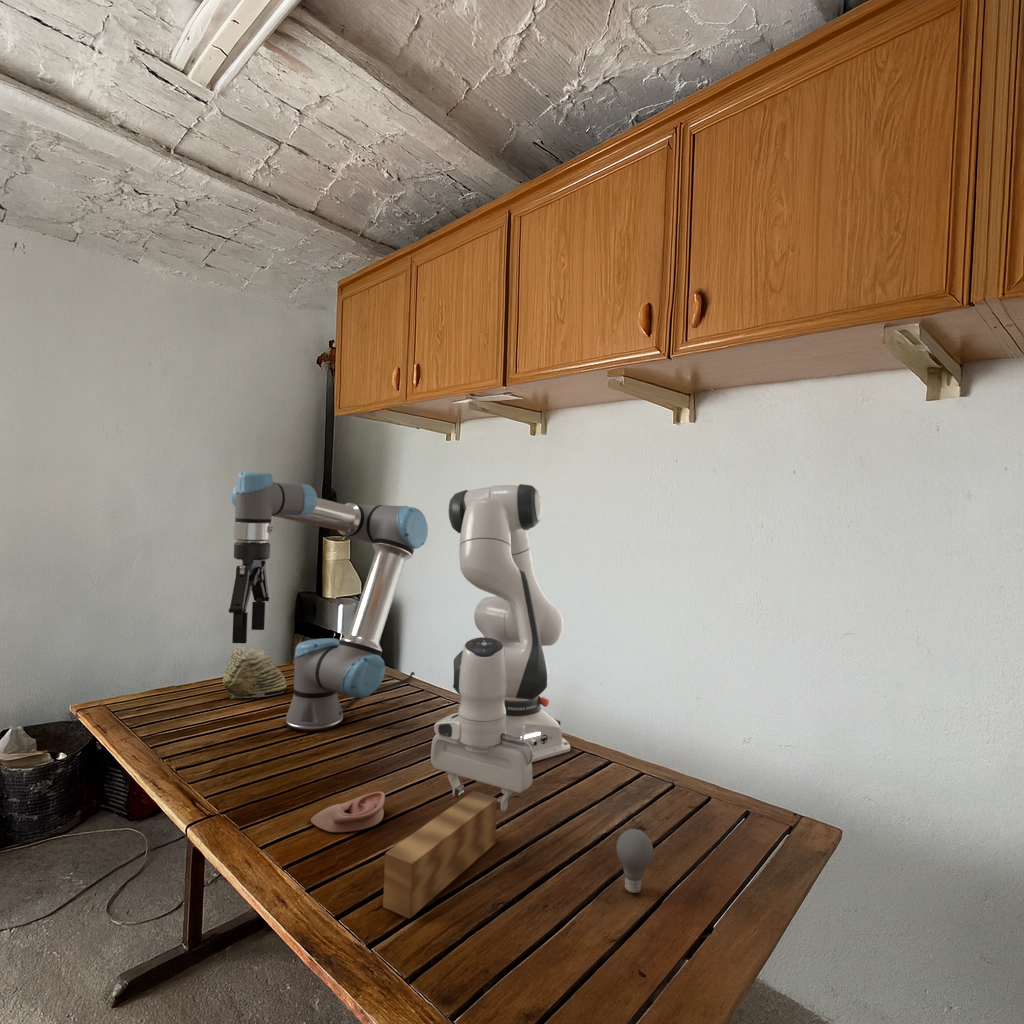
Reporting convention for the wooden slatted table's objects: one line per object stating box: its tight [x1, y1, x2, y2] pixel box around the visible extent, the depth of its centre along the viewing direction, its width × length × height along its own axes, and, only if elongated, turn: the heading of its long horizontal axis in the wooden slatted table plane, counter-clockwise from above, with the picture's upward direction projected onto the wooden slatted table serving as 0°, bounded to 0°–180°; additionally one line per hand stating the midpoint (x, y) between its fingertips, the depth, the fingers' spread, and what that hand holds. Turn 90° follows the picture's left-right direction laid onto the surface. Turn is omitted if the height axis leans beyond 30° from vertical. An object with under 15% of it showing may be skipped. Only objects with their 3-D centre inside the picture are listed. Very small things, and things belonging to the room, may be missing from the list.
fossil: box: [222, 646, 288, 699], centre depth 198 cm, size 9×18×15 cm, turn 132°
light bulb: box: [615, 828, 654, 894], centre depth 106 cm, size 6×6×10 cm
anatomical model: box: [310, 790, 386, 833], centre depth 125 cm, size 13×4×12 cm
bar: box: [382, 790, 498, 919], centre depth 109 cm, size 26×5×9 cm, turn 151°
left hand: (249, 636), depth 142 cm, fingers open, 13 cm apart
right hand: (479, 802), depth 117 cm, fingers open, 8 cm apart
